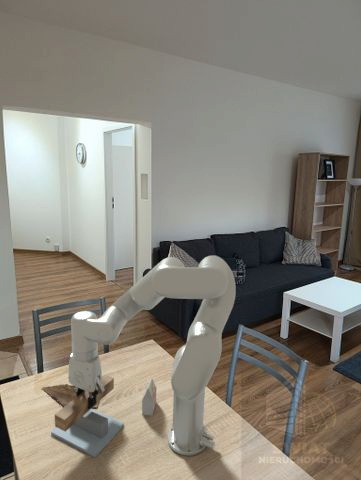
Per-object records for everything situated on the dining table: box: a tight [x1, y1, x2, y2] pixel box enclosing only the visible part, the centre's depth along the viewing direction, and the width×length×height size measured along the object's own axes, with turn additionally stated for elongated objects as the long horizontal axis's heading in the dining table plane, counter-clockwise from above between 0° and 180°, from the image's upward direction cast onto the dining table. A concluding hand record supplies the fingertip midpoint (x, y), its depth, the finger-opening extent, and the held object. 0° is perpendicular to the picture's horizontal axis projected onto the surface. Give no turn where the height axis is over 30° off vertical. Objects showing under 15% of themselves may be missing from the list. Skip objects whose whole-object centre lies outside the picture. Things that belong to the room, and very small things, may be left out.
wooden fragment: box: [41, 383, 101, 409], centre depth 121 cm, size 26×11×1 cm, turn 65°
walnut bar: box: [54, 374, 115, 432], centre depth 104 cm, size 22×4×4 cm, turn 153°
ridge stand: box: [50, 408, 125, 458], centre depth 105 cm, size 18×14×6 cm
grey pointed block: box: [141, 378, 157, 416], centre depth 116 cm, size 4×7×10 cm, turn 173°
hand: (86, 403), depth 104 cm, fingers closed on walnut bar, 4 cm apart
